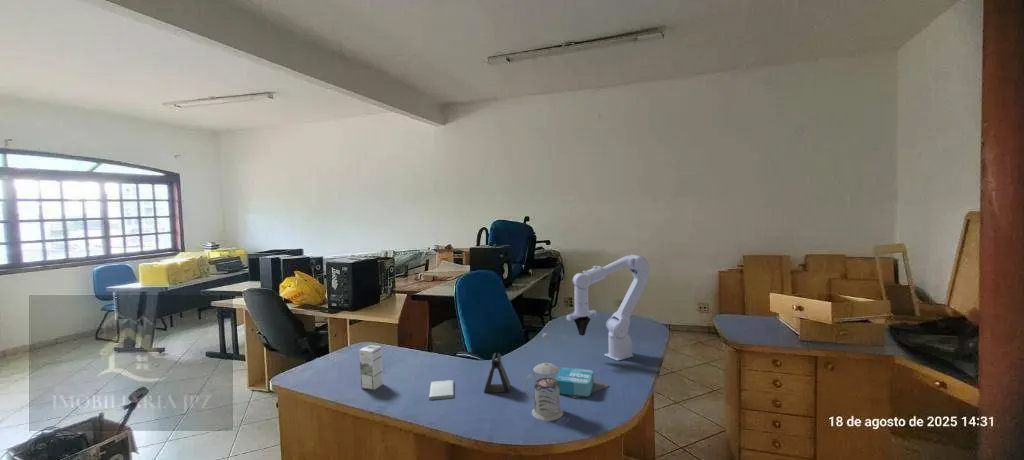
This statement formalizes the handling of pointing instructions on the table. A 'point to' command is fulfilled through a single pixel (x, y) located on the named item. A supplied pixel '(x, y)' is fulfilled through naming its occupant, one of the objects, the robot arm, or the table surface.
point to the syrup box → (371, 367)
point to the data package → (575, 381)
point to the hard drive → (441, 390)
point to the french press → (544, 405)
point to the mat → (596, 386)
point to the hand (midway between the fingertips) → (581, 334)
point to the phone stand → (505, 381)
